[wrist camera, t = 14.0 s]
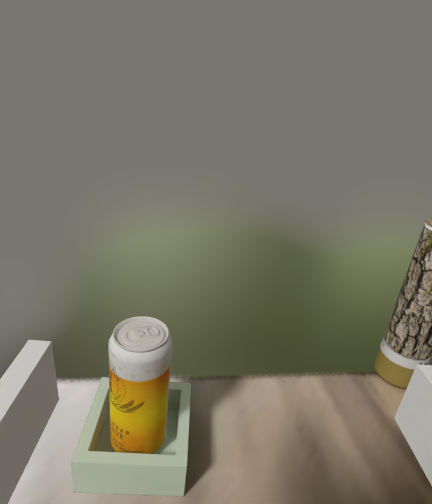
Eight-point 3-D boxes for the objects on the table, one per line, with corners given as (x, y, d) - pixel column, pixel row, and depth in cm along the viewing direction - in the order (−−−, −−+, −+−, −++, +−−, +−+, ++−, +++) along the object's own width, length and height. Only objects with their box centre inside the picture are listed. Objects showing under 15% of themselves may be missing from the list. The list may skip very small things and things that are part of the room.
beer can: (106, 425, 42) (103, 319, 36) (156, 411, 44) (162, 310, 38) (116, 472, 37) (115, 359, 31) (172, 453, 40) (181, 345, 33)
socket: (188, 409, 46) (191, 382, 45) (183, 496, 36) (186, 467, 35) (102, 404, 46) (102, 377, 44) (73, 491, 36) (71, 461, 34)
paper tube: (370, 379, 55) (426, 228, 45) (374, 354, 61) (424, 215, 51) (419, 398, 53) (489, 242, 43) (418, 370, 58) (480, 227, 48)
